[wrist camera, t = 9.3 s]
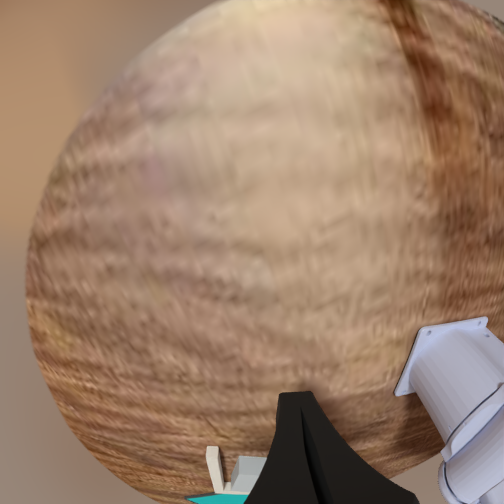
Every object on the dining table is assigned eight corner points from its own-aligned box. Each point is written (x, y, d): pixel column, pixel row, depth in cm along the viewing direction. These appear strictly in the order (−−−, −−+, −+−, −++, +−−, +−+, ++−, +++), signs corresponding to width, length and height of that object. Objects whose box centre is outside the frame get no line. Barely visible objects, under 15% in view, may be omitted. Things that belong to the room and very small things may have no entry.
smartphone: (183, 498, 30) (259, 485, 27) (183, 494, 31) (258, 480, 28) (214, 510, 32) (287, 496, 29) (214, 506, 33) (287, 491, 30)
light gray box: (314, 456, 26) (317, 475, 23) (298, 475, 28) (300, 492, 25) (239, 453, 25) (238, 474, 22) (231, 472, 27) (230, 490, 24)
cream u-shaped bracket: (339, 441, 24) (342, 452, 23) (319, 481, 28) (320, 489, 26) (207, 445, 24) (205, 457, 23) (215, 484, 28) (215, 493, 26)
